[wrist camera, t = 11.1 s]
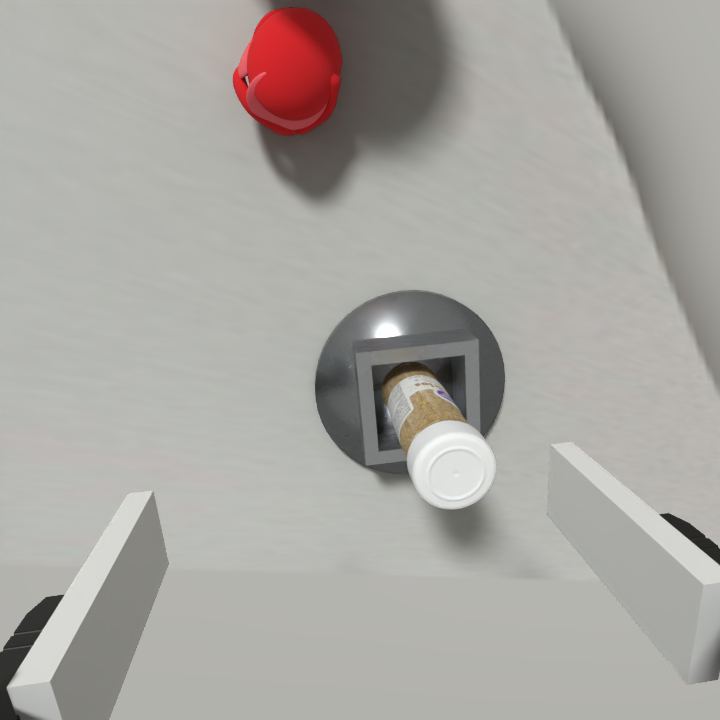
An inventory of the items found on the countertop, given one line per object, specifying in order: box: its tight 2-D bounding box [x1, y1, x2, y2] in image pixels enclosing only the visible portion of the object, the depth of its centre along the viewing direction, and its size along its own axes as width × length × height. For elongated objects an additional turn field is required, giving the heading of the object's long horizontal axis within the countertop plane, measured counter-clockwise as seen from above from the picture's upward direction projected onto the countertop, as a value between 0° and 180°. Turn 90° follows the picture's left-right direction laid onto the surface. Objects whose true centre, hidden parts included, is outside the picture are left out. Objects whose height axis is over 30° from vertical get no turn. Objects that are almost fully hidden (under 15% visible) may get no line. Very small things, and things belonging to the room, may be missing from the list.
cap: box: [233, 7, 342, 136], centre depth 30 cm, size 8×6×6 cm
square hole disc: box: [315, 290, 505, 474], centre depth 37 cm, size 15×15×4 cm
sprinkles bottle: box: [381, 362, 497, 510], centre depth 32 cm, size 5×5×13 cm
